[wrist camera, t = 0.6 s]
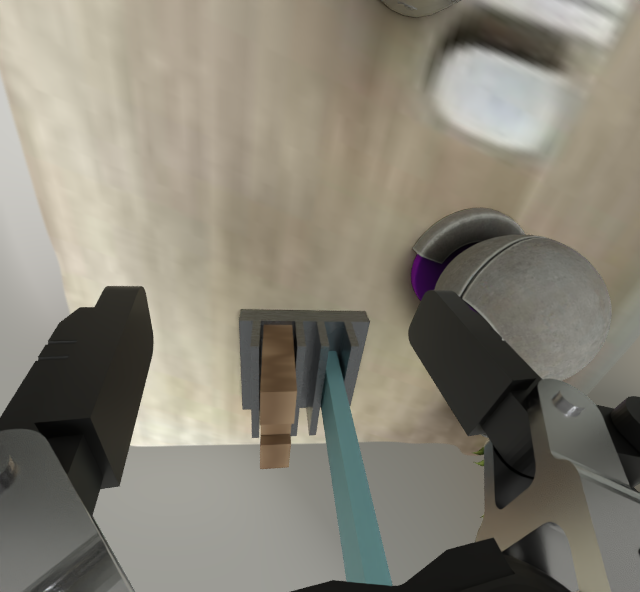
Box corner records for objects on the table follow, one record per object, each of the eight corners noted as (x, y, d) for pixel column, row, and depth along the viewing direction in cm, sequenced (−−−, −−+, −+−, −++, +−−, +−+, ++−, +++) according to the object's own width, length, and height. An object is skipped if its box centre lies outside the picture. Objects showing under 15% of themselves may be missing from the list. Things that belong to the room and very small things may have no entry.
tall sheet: (336, 350, 36) (399, 614, 18) (330, 384, 39) (379, 641, 21) (322, 350, 36) (372, 618, 18) (317, 384, 39) (356, 644, 21)
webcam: (392, 238, 32) (469, 332, 19) (517, 185, 30) (689, 248, 18) (419, 328, 39) (489, 440, 26) (522, 288, 37) (648, 386, 25)
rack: (365, 311, 36) (379, 346, 31) (347, 394, 44) (356, 433, 39) (240, 309, 34) (234, 346, 29) (243, 396, 41) (239, 438, 36)
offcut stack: (292, 324, 33) (297, 391, 26) (286, 405, 40) (289, 476, 33) (263, 324, 33) (260, 392, 25) (262, 406, 40) (259, 478, 32)
